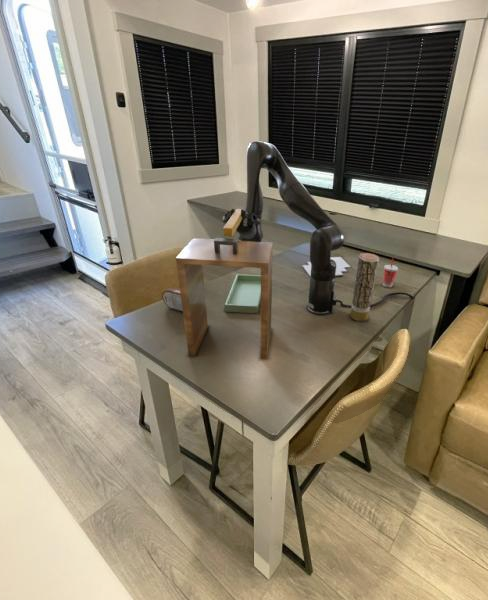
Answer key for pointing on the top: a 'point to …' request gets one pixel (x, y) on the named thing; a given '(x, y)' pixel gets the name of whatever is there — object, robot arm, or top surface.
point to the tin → (172, 298)
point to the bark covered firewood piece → (364, 286)
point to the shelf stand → (221, 255)
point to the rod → (232, 223)
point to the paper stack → (339, 266)
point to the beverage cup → (389, 274)
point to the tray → (244, 294)
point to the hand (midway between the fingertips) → (237, 212)
